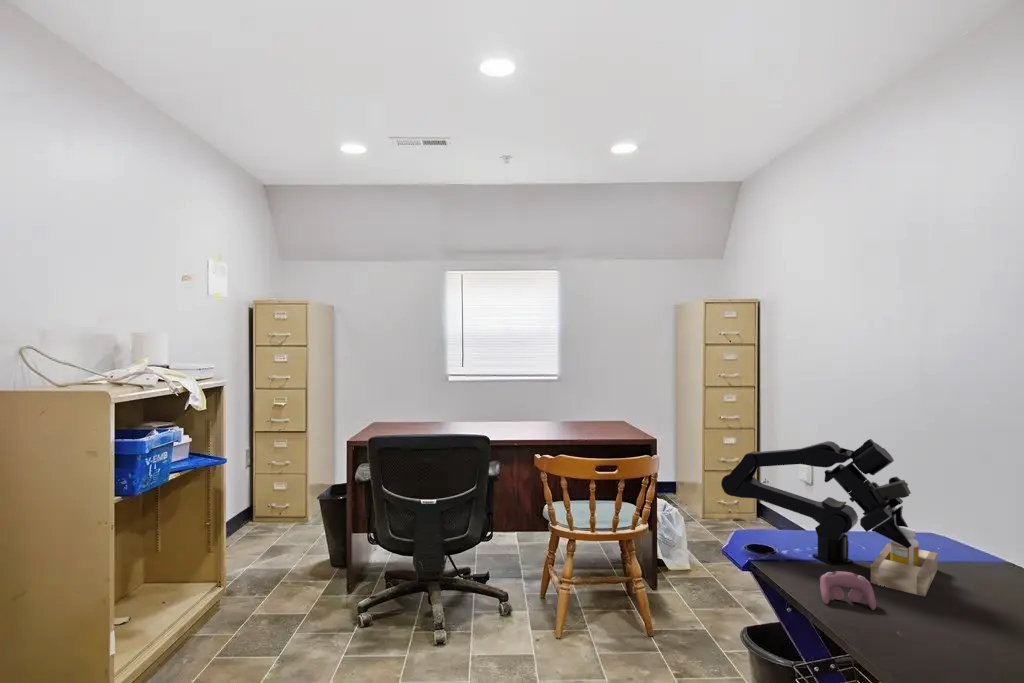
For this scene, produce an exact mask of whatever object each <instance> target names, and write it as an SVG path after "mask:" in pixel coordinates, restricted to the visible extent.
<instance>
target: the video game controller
mask: <svg viewBox="0 0 1024 683" xmlns="http://www.w3.org/2000/svg"><path fill="white" fill-rule="evenodd" d="M841 587H842V588H843V587H845V588H850V591H849V592H848V595H847V596H848V599H849V601H850V602H852V603H855V602H856V603H860V602H861V600H862V598H863V597H864V598H865V600H866V602H867V605H868V607H869V608H870V609H871V610H872V611H875V610H876V607H877V601H876V596H875V592H874V589H873V586H872V584H871V581H869V580H868V579H866V577H865V576H862V575H860V574H856V573H854V572H850V571H840V570H836V571H828V572H826V573H824V574H822V575H821V576H820V577H819V589H820V595H821V598H822V601H823V602H824V604H825V605H828V604H829V602H830V598H831V597H832V598H833V599H834V600H835V601H841V600H843V599H844V598H845V593H844V590H843V589H842V588H841Z"/></svg>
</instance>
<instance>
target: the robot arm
mask: <svg viewBox="0 0 1024 683" xmlns="http://www.w3.org/2000/svg"><path fill="white" fill-rule="evenodd" d="M849 460H852V461H850V462H849V463H848V464H846V465H844V464H843V463H846V462H847V461H849ZM893 462H894V458H893V456H892V455H891V454H890V453H889V451H887V449H886V448H885V447H882V446H881V445H880V444H878V443H876V442H875V441H874V440H873V439H872V438H869V439H867V440H866V441H865V442H863V444H862V445H861V446H860V447H858V448H856V449H855V450H851V449H847V448H844V447H840V445H838V444H837V443H836V442H834V441H828V440H827V441H823V442H819V443H816V444H811V445H809V446H805V447H801V448H793V449H792V448H791V449H780V450H779V449H778V450H777V449H776V450H768V451H766V450H765V451H755V450H754V451H751V452H748V453H746V454H744V456H743V458H742V459H741V460H740V461H739V463H737V465H736V466H735V467H734V468H733V469H732V471H731V472H730V473H728V474H726V475H725V476H724V477H723V478H722V479H721V483H720V484H721V488H722V490H723V492H724V493H725V494H726V495H728V496H730V497H736V498H742V499H754V500H755V499H756V500H759V501H762V502H765V503H767V504H770V505H772V506H775V507H780V508H783V509H785V510H788V511H789V512H790V511H791V512H793V513H797V514H799V515H803V516H805V517H808V518H811V519H813V520H814V521H815V522H817V523H818V525H816V527H815V531H816V535H817V553H812V557H814V558H815V559H818V560H821V561H823V562H825V563H827V564H830V565H833V566H837V565H838V566H839V565H844V564H851V563H853V562H854V559H851V558H849V540H848V539H849V538H848V537H849V535H848V534H847V533H849V531H851V530H852V528H854V526H856V524H857V522H858V520H860V521H859V524H860V527H862V529H863V530H865V532H866V533H868V532H869V531H872V532H873V533H874V532H875V533H877V534H878V535H881V536H883V537H885V538H886V539H887V538H888V539H889V540H890V541H891V540H893V541H895V542H897V543H899V544H901V545H902V546H904V547H906V548H909V547H911V543H910V542H909V540H908V539H907V538H906V536H905V535H904V534H903V532H902V531H901V529H900V528H899V527H898V526H903V527H909V525H908V524H907V522H906V521H905V519H904V517H903V508H904V506H903V505H901V504H902V503H904V500H903V498H907V497H909V496H910V494H912V493H911V491H910V488H909V487H908V486H909V484H908V482H906V481H905V480H904V479H900V478H899V477H898V476H892V477H889V479H888V483H885V484H883V485H879V484H878V483H877V482H876V481H875V482H874V481H871V480H869V479H868V478H867V477H866V475H868V474H869V475H871V476H875V475H876V474H878V473H880V472H881V471H882V470H883V469H885V468H886V467H888V466H889V465H890V464H891V465H892V463H893ZM836 464H838V465H837V466H836V467H834V468H833V469H832V470H829V469H826V470H824V482H825V483H828V482H830V481H832V480H833V479H834V480H835V481H836V482H837V484H838V485H839V486H840V488H842V489H843V490H844V492H845V493H847V495H849V498H848V499H849V501H851V503H853V502H855V503H856V504H857V505H858V506H859V508H860V509H861V510H862V511H863V512H862V515H863V516H862V517H861V518H860V519H859V518H858V517H859V515H858V513H857V512H856V510H855V509H854V507H852V506H851V505H849V504H847V501H840V500H837V499H835V498H833V497H829V496H828V497H826V498H825V499H824V500H822V501H817V500H814V499H811V498H808V497H805V496H803V495H798V494H795V493H792V492H789V491H787V490H783V489H781V488H777V487H774V486H772V485H768V484H765V483H762V482H760V481H759V480H758V479H757V478H755V477H754V476H755V475H756V472H757V470H758V469H759V467H760V468H761V467H772V466H773V467H774V466H775V467H777V466H790V465H791V466H792V465H804V466H810V467H817V468H830V467H833V466H835V465H836ZM897 506H899V507H898V508H897ZM914 539H916V536H915V537H914Z"/></svg>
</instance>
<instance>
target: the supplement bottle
mask: <svg viewBox="0 0 1024 683" xmlns="http://www.w3.org/2000/svg"><path fill="white" fill-rule="evenodd" d="M898 527H899V528H900V529H901V531H902V532H903V534H904V535H905V536H906V538H907V539H908V540H909V542H910V543H911V547H909V548H906V547H904V546H902V545H901V544H899V543H897V542H895V541H893V540H891V539H890V544H891V550H890V561H895V562H899V563H904V564H908V565H913V566H918V558H919V550H920V546H919V545H920V544H919V541H918V540H917V539H916V530H915V529H914V528H911V527H909V526H908V527H903V526H898ZM914 537H915V539H914Z"/></svg>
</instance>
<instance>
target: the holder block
mask: <svg viewBox="0 0 1024 683" xmlns="http://www.w3.org/2000/svg"><path fill="white" fill-rule="evenodd" d="M890 550H891V542H890V543H889V542H887V544H886V545H885V546H884V548H883V549H882V550H881V551H880V553H879V554H878V555H877V557H876V558H875V559H874V561H873V562H872V563H871V564H870V584H871V583H873V585H875V584H877V585H876V586H880V585H881V586H880V587H884V586H885V587H884V588H888V589H893V590H897V591H901V592H905V593H909V594H912V595H917V596H921V597H926V596H927V594H928V591H929V589H930V586H931V585H932V583H933V580H934V578H935V576H936V574H937V571H938V552H934V551H928V550H925V549H924V550H923V549H919V558H918V566H913V565H908V564H904V563H899V562H895V561H890Z"/></svg>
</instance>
